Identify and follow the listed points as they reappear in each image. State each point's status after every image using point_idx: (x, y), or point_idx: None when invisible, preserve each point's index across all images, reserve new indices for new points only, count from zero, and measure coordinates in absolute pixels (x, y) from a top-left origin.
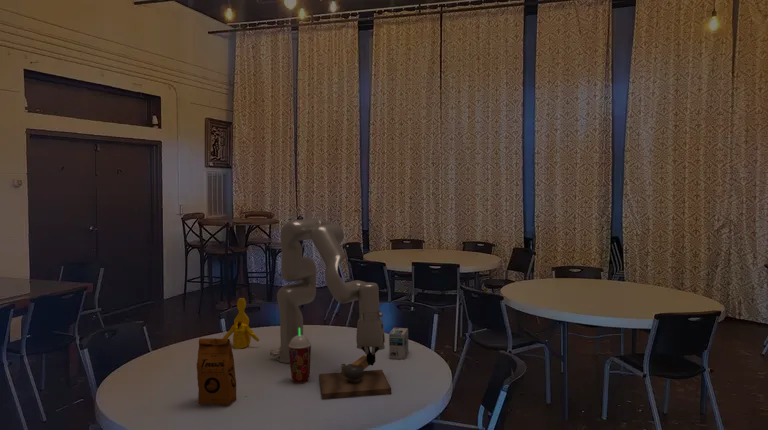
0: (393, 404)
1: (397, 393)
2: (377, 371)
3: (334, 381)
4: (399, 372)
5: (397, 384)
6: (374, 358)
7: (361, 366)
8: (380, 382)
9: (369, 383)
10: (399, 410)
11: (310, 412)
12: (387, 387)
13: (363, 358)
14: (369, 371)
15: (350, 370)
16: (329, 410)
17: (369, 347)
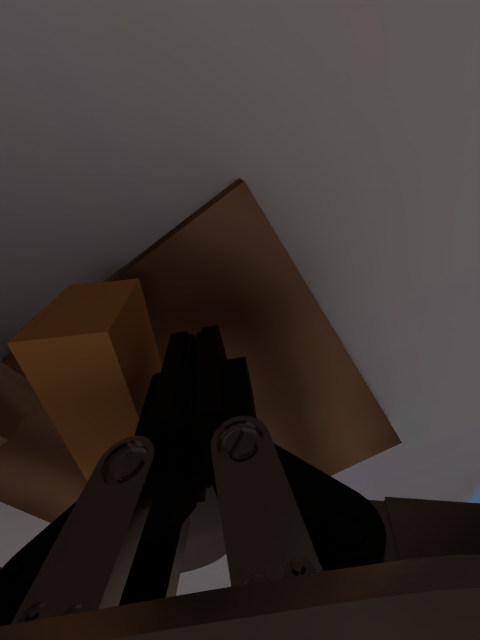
0: (408, 476)
1: (412, 404)
2: (227, 250)
3: (84, 486)
4: (377, 30)
5: (398, 312)
6: (256, 417)
7: (211, 519)
8: (328, 410)
9: (274, 440)
10: (433, 495)
11: (181, 580)
12: (381, 442)
13: (114, 432)
14: (164, 279)
15: (182, 569)
16: (224, 560)
17: (126, 548)
